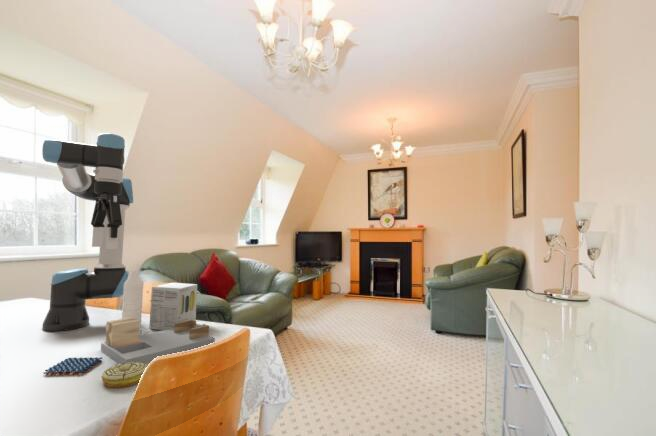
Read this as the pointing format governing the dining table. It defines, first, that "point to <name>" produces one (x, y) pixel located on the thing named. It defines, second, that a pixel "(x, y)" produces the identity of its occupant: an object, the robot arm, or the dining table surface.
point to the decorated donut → (123, 374)
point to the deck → (154, 346)
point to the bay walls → (192, 329)
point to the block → (122, 331)
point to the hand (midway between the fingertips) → (104, 247)
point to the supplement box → (172, 305)
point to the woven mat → (73, 366)
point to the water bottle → (133, 297)
